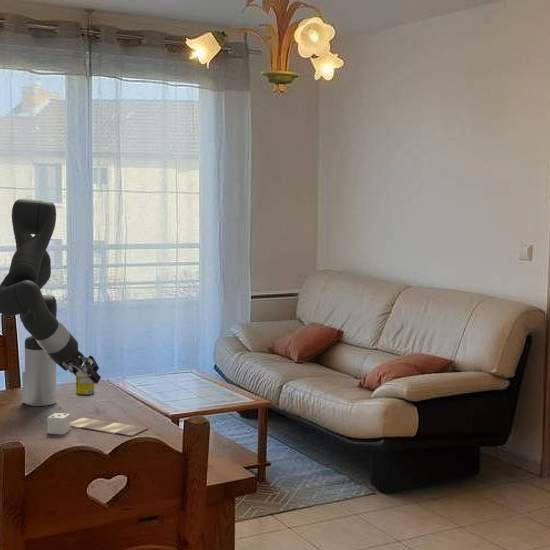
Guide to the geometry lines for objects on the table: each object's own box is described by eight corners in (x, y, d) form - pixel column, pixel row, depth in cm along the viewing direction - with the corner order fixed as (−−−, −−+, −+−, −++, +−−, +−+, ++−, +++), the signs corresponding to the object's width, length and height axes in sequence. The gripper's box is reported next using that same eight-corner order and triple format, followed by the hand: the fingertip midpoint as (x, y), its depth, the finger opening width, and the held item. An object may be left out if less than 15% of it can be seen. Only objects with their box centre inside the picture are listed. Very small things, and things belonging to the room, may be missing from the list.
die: (47, 433, 218) (47, 417, 217) (54, 429, 222) (54, 412, 222) (63, 434, 217) (63, 418, 217) (70, 430, 221) (70, 413, 221)
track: (64, 425, 225) (64, 424, 225) (82, 419, 232) (82, 417, 232) (131, 436, 216) (131, 435, 216) (148, 429, 223) (148, 427, 223)
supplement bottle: (77, 393, 215) (77, 362, 214) (95, 393, 215) (95, 362, 214) (74, 398, 210) (74, 366, 209) (93, 398, 210) (93, 366, 209)
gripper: (84, 331, 200) (118, 371, 212) (44, 325, 208) (78, 364, 219) (68, 356, 196) (103, 395, 208) (27, 348, 204) (63, 387, 215)
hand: (90, 379), depth 214 cm, fingers closed on supplement bottle, 4 cm apart
